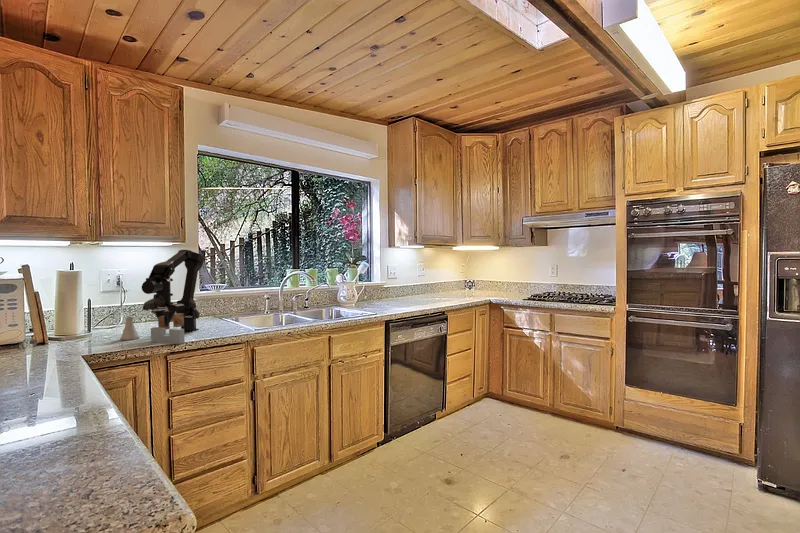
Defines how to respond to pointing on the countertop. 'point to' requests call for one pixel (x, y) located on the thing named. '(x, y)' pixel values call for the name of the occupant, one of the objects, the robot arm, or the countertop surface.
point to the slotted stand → (160, 335)
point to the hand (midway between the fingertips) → (164, 325)
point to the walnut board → (176, 319)
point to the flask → (129, 330)
